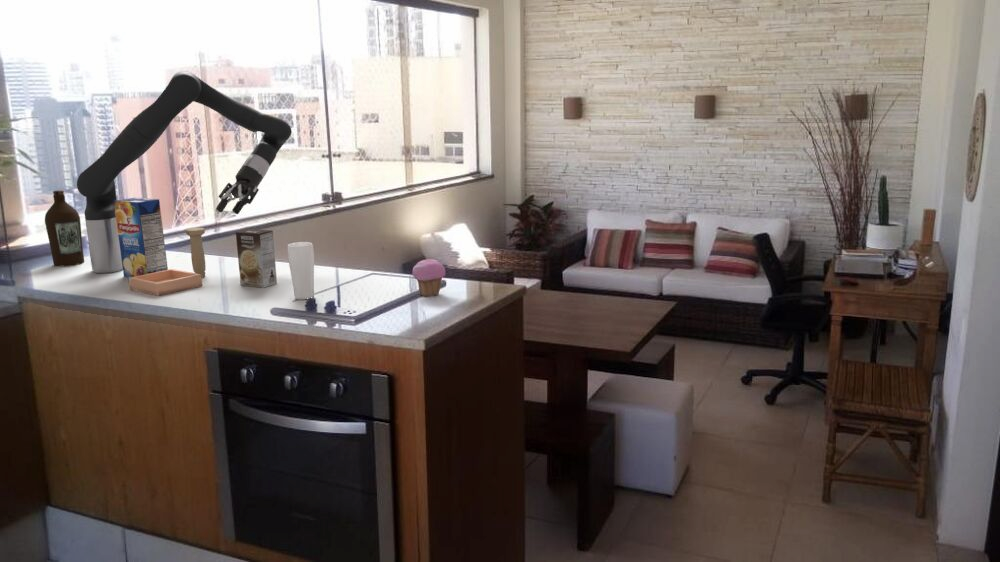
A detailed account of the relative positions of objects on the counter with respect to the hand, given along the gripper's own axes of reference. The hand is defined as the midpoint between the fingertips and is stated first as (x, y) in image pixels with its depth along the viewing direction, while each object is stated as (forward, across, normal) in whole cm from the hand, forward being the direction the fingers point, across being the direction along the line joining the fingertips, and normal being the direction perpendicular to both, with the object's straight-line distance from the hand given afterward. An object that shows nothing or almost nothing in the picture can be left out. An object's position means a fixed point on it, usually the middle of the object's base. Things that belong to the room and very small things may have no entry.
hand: (226, 211), depth 260 cm
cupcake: (+9, +78, +19) cm, 81 cm away
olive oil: (+29, -60, -3) cm, 67 cm away
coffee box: (+20, +25, +7) cm, 33 cm away
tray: (+32, +4, -5) cm, 32 cm away
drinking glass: (+23, +50, +4) cm, 55 cm away
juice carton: (+27, -17, -1) cm, 32 cm away
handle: (+22, 0, +5) cm, 22 cm away
